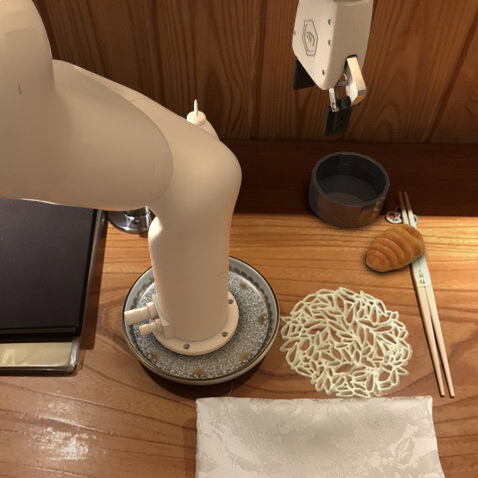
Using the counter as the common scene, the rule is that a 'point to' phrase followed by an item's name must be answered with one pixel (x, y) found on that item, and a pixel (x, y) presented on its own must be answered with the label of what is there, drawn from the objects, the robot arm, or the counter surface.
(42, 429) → the counter surface
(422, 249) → the pastry
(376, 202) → the pot
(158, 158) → the robot arm
